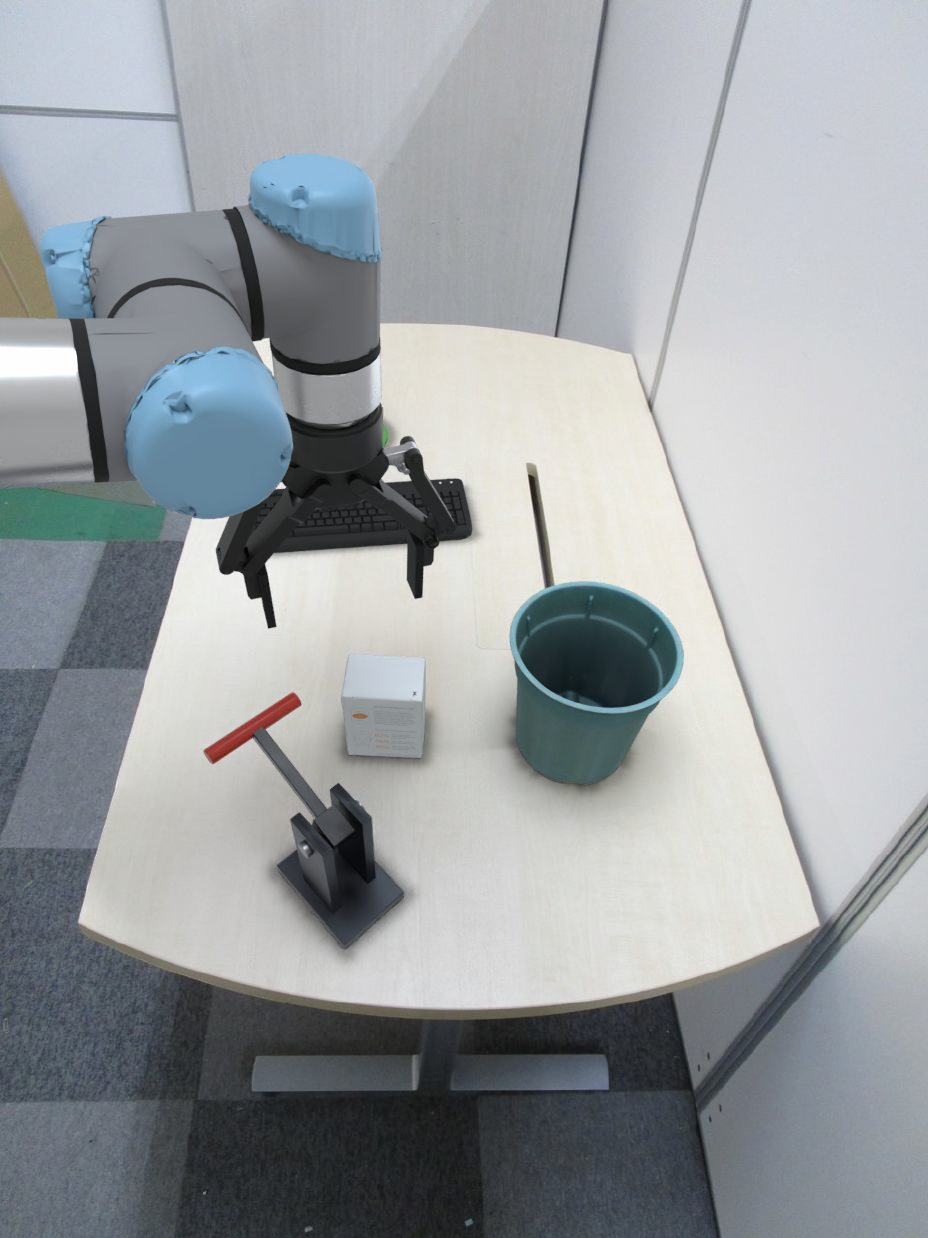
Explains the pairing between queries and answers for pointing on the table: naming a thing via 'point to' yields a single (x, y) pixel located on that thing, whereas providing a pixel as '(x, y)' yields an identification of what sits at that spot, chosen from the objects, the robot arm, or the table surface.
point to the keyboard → (370, 520)
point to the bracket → (340, 873)
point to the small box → (384, 705)
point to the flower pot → (588, 676)
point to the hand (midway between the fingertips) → (343, 602)
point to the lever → (285, 768)
